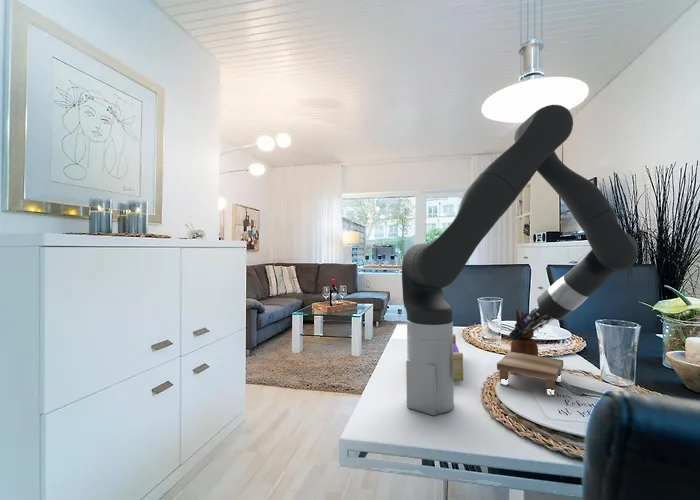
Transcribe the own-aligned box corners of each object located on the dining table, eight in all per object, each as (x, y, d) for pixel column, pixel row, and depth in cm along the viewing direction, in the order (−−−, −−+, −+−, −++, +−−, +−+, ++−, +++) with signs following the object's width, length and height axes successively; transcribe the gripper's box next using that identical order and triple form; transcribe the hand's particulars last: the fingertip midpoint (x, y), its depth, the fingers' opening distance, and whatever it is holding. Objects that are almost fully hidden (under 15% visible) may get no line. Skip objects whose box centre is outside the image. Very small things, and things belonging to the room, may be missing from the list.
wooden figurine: (506, 362, 97) (506, 309, 97) (523, 360, 98) (522, 308, 99) (525, 370, 90) (524, 313, 90) (542, 367, 92) (542, 311, 92)
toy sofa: (464, 381, 83) (463, 339, 83) (427, 379, 85) (427, 338, 85) (456, 356, 104) (455, 322, 104) (426, 354, 105) (426, 321, 106)
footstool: (556, 397, 73) (555, 374, 73) (497, 384, 81) (496, 363, 81) (563, 380, 83) (563, 360, 83) (510, 370, 90) (509, 351, 90)
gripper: (564, 284, 92) (521, 322, 102) (536, 288, 84) (493, 328, 94) (587, 306, 88) (540, 343, 98) (559, 312, 80) (511, 352, 90)
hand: (517, 336), depth 96 cm, fingers closed on wooden figurine, 4 cm apart
